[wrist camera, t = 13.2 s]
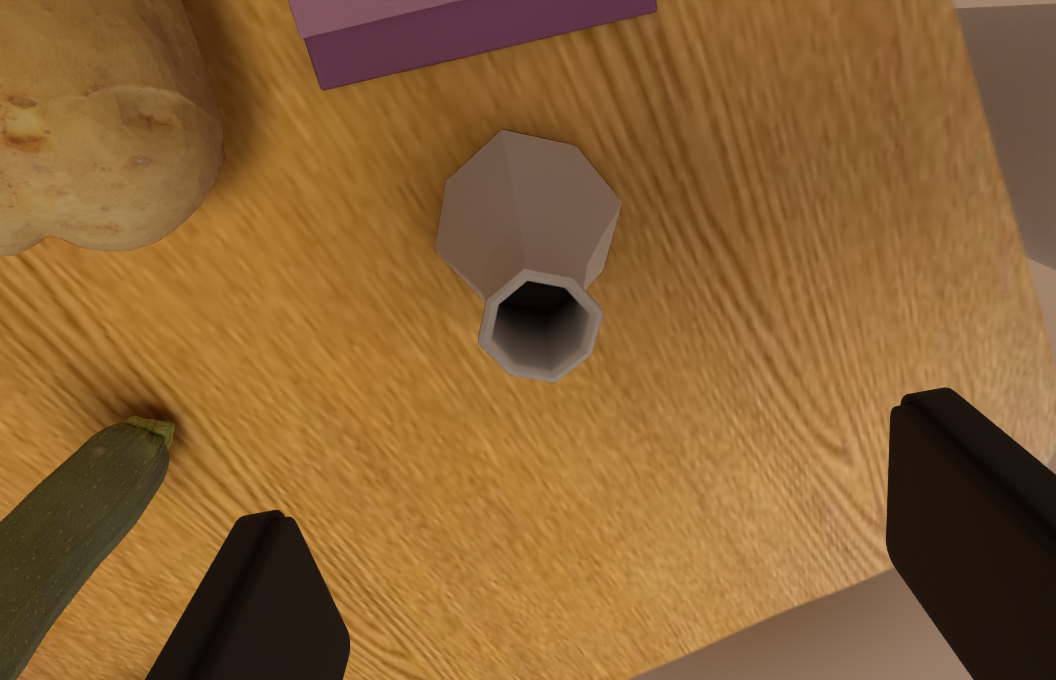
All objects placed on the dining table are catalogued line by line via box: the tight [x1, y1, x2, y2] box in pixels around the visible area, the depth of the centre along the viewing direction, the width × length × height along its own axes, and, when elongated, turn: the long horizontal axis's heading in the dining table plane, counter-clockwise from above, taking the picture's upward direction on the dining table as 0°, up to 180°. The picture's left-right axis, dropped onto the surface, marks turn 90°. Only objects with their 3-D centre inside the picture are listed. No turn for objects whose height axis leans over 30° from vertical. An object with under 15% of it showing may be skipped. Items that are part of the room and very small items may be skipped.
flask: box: [435, 130, 622, 383], centre depth 21 cm, size 7×7×10 cm
